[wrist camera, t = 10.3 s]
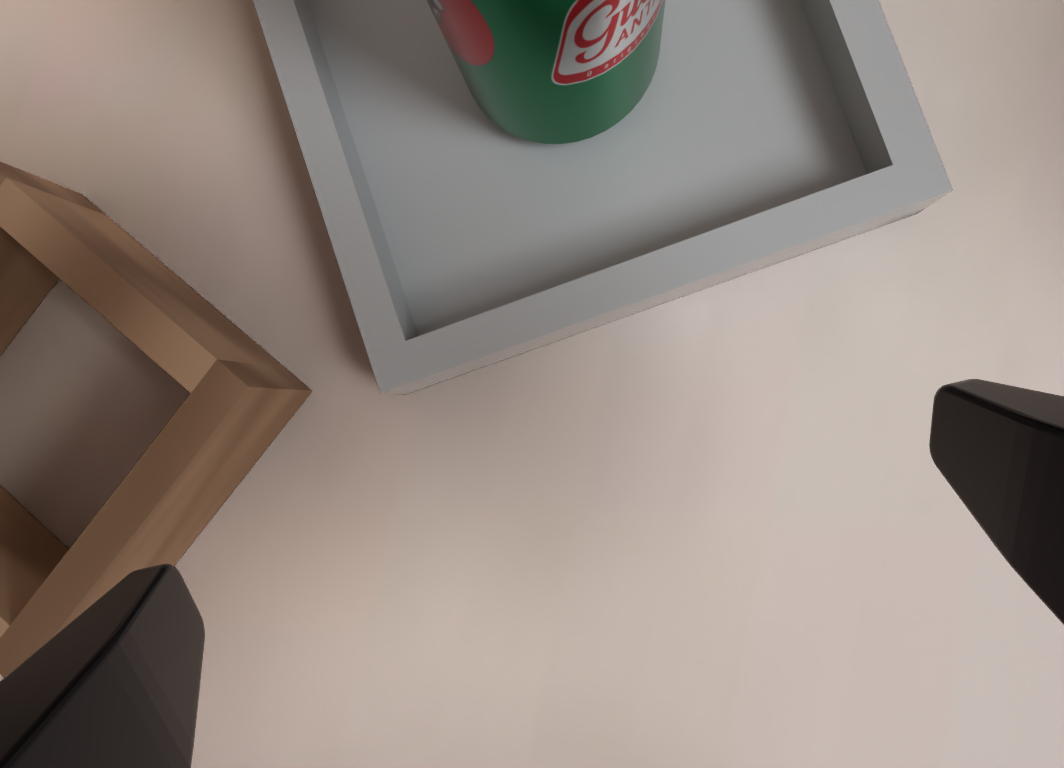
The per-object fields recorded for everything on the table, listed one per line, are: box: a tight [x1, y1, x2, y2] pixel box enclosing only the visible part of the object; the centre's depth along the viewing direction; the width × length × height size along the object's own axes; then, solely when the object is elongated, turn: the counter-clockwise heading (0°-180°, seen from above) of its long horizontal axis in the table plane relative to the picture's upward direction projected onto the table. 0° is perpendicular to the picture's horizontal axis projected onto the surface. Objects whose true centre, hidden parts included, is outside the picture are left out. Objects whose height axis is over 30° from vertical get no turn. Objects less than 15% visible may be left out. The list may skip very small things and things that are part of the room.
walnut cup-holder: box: [0, 162, 312, 678], centre depth 19 cm, size 9×9×4 cm
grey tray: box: [253, 0, 953, 395], centre depth 19 cm, size 14×14×2 cm
